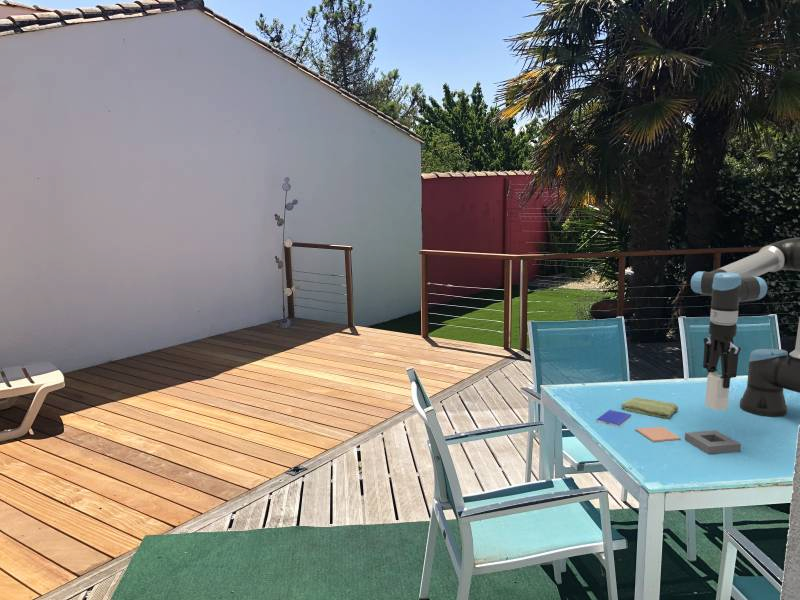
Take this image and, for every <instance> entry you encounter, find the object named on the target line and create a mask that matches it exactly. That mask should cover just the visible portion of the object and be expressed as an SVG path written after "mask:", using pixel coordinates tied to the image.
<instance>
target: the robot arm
mask: <svg viewBox="0 0 800 600" xmlns="http://www.w3.org/2000/svg"><path fill="white" fill-rule="evenodd" d="M783 270H784V271H785V270H786V271H796V272H800V237H792V238H787V239H783V240H779V241H775V242H773V243H770V244H767V245H765V246H763V247H761V248H760V249H759V251H758V252H756V253H753V254H751V255H749V256H746V257H743V258H742V259H741V258H740V259H739V260H737V261H734V262H731V263H729V264H727V265H724V266H722V267H720V268H717V269H714V270H711V271H696V272H695V273H694V274H693V275H692V276H691V279H690V287H691V288H690V289H691V290H692V291H693V293H696V294H701V295H703V296H704V295H705V296H711V305H710V316H709V320H710V322H709V328H708V334H709V335H710V336H709V337H703V344H704V347H703V362H702V368H703V369H706V371H707V375H719V374H718V373H719V372H718V371H719V370H718V368H717V367H718V364H719V360H720V365H721V375H722V376H720V384H719V396H718V397H719V398H726V397H728V398H729V396H728V388H729V389H730V385H731V379H732V378H737V372H738V363H739V355H740V352H741V347H740V346H736V345H735V343H734V337H735V336H736V335H737V329H738V325H737V323H738V319H739V318H738V317H739V304H740V303H744V302H754V301H756V300H757V301H759V300H761V299H762V298H764V297H765V296H766V294H767V292H768V284H767V282H766V281H765V280H764V279H763V278H762V277H760V276H762V275H764V274H766V273H768V272H770V273H775V272H779V271H783ZM796 334H797V335H796V340H795V348H794V350H792V351H791V352H789V354H788V351H787V350H785V349H779V348H778V349H777V348H758V349H754V350H752V351H751V353H750V355H749V359H748V371H747V372H748V373H747V381H746V383H747V384H746V387H745V388H746V389H745V390H744V392H743V395H742V397H741V398H740V400H739V408H740V409H742V410H743V411H745V412H748V413H750V414H754V415H759V416H764V417H784V416H786V415H787V413H788V406H787V403H786V399H785V394H784V389H785V390H787V391H791V392H795V393H799V394H800V317H799V319H798V326H797V333H796Z"/></svg>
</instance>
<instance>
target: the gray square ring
mask: <svg viewBox="0 0 800 600" xmlns="http://www.w3.org/2000/svg"><path fill="white" fill-rule="evenodd" d="M684 441H686V442H688V443H689V444H691V445H693V446H694V447H696V448H697V449H699V450H700V451H703V452H704V453H706V454H707V455H715V454H724V453H725V454H727V453H734V452H735V453H736V452H741V449H742V444H741V443H740V442H738V441H736V440H734V439H733V438H731V437H730V436H727V435H726V434H724V433H722V432H720V431H718V430H716V429H712V430H703V431H701V430H700V431H689V432H685V435H684Z"/></svg>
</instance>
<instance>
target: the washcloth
mask: <svg viewBox="0 0 800 600" xmlns="http://www.w3.org/2000/svg"><path fill="white" fill-rule="evenodd" d="M620 406H621V408H623V409H624V411H625V410H626V411H625V412H629V411H630V413H634V412H635V414H639V413H640V415H644V414H645V415H646V416H650V417H653V416H655V418H659V417H660V419H664V418H665V420H669V419H670V418H671V417H672V416H673V415H674V414H675V413H676V412H678V411H679V406H678V405H677V404H676V403H674V402H664V401H661V400H656V399H655V400H654V399H648V398H643V397H632V398H630V399H627V400H625V402H623V403H621V405H620Z"/></svg>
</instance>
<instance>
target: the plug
mask: <svg viewBox="0 0 800 600" xmlns="http://www.w3.org/2000/svg"><path fill="white" fill-rule="evenodd" d="M706 375H707V376H706V389H705V401H704V406H706V407H707V408H710V409H711V410H714V411H720V410H722V411H723V410H728V405H729V393H730V387H729V388H728V397H726V398H719V397H718V396H719V384H720V376H722V374H718V375H708V374H706Z"/></svg>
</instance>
